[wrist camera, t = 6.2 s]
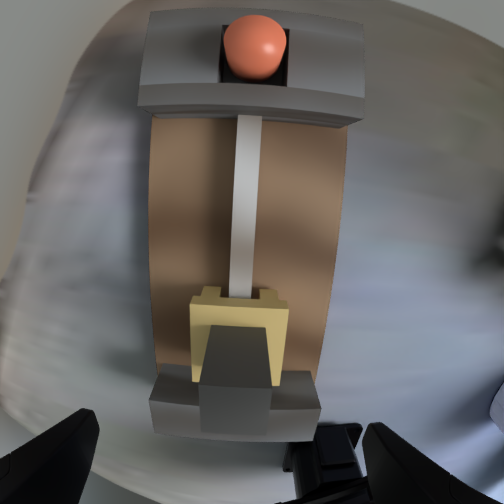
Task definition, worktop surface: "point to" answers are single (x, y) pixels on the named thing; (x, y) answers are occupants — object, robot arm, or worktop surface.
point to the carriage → (236, 358)
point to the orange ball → (254, 47)
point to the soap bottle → (498, 409)
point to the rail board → (245, 194)
